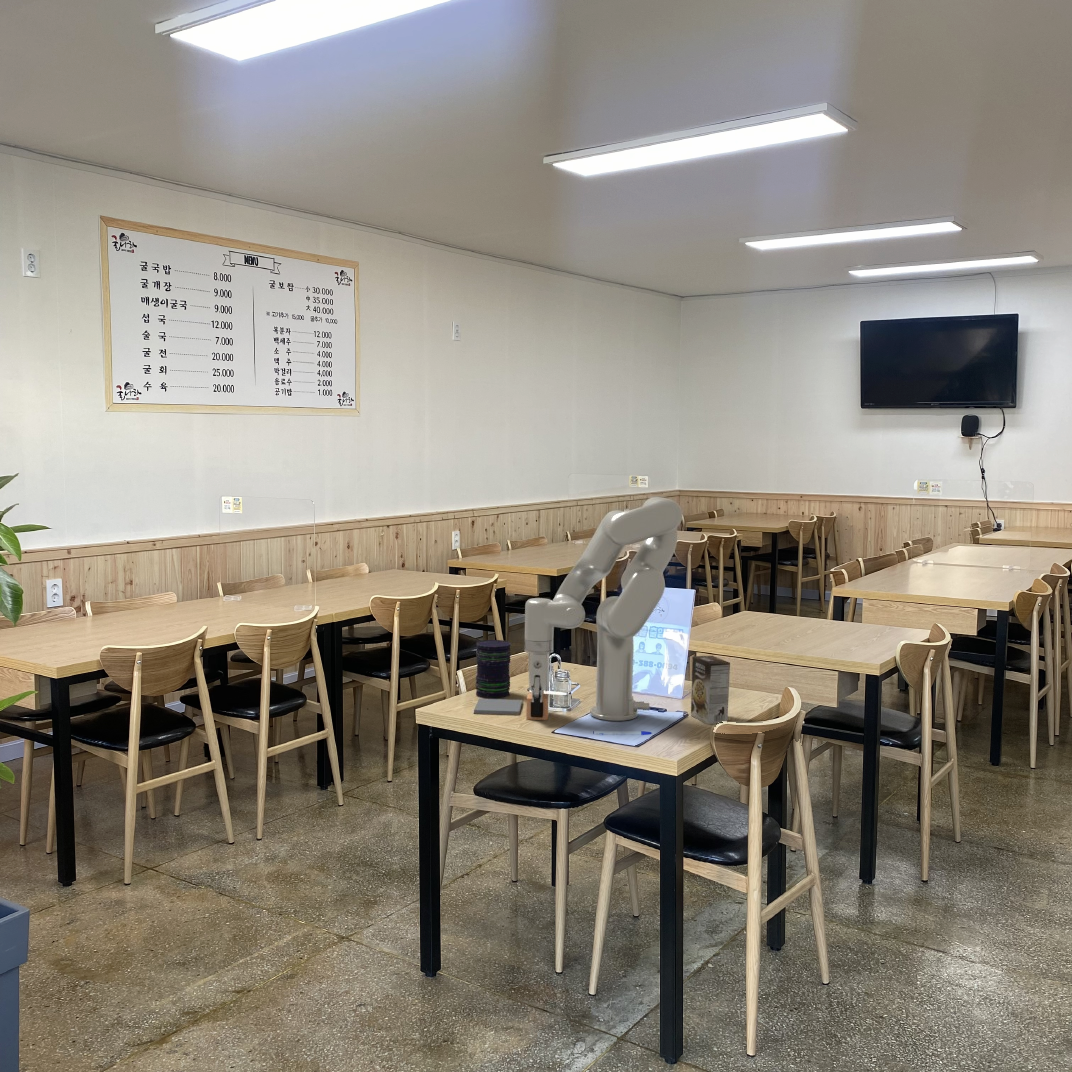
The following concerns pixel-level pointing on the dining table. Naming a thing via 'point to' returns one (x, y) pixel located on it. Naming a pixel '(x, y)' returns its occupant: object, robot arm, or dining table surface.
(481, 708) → the coaster mat
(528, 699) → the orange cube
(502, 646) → the storage jar
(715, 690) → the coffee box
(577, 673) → the dining table surface
